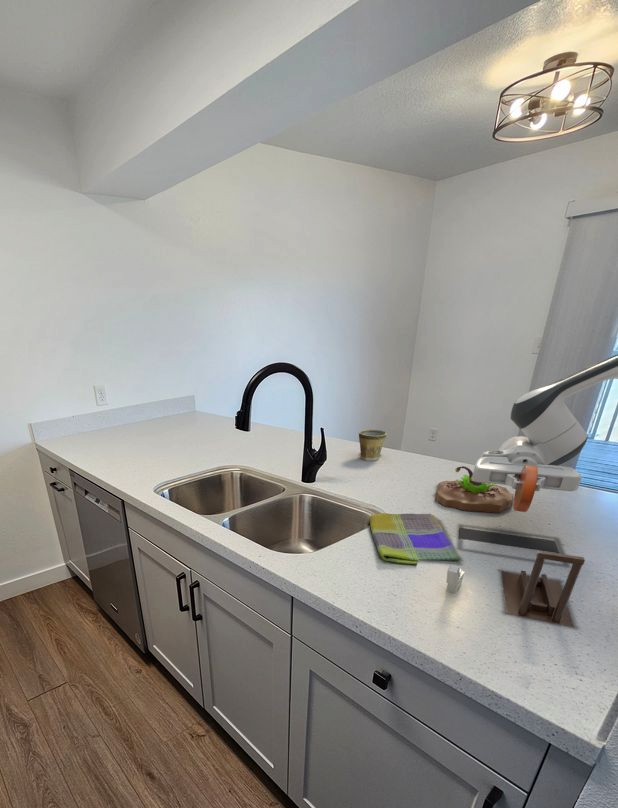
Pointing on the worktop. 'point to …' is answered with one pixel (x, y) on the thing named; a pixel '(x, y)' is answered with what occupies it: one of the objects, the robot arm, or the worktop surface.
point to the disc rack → (541, 591)
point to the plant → (473, 495)
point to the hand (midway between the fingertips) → (526, 486)
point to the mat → (508, 540)
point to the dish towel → (411, 538)
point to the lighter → (454, 579)
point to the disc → (526, 488)
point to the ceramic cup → (371, 444)
